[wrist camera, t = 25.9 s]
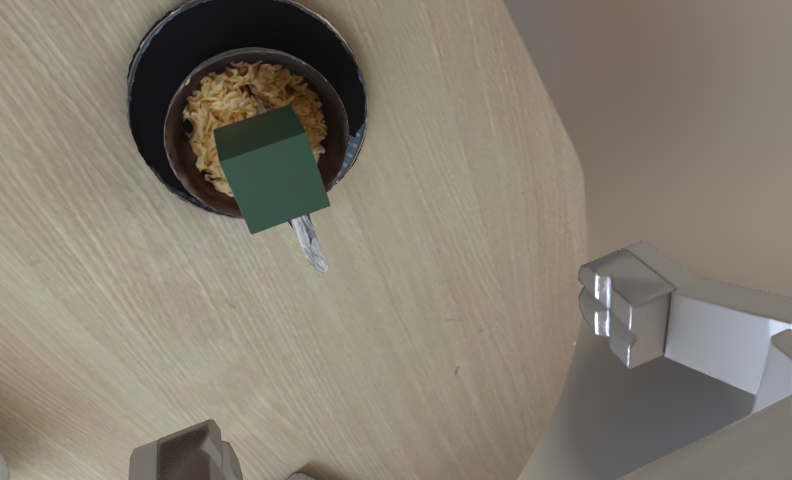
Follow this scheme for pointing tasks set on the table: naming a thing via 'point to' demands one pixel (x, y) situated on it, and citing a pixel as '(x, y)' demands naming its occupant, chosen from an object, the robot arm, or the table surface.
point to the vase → (3, 468)
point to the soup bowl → (243, 95)
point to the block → (270, 168)
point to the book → (300, 477)
